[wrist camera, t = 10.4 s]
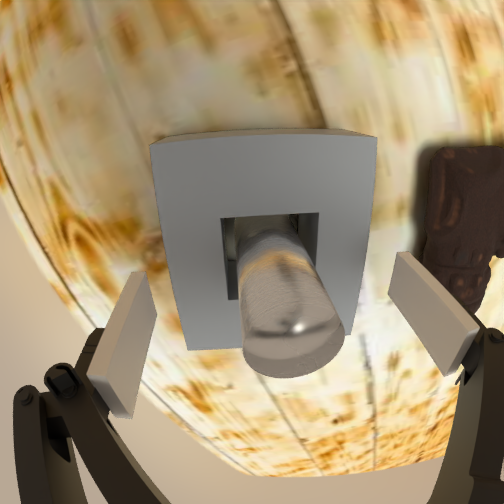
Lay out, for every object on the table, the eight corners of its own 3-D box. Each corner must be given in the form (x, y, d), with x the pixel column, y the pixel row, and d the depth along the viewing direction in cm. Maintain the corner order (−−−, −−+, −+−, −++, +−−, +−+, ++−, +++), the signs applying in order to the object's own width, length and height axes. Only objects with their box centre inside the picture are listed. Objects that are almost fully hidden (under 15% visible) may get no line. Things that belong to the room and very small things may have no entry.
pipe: (432, 348, 19) (546, 310, 16) (451, 154, 13) (574, 158, 10) (399, 285, 28) (502, 264, 25) (396, 138, 22) (511, 138, 19)
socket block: (168, 136, 18) (149, 145, 13) (344, 129, 18) (377, 137, 14) (193, 308, 24) (187, 350, 20) (331, 296, 25) (350, 334, 20)
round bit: (232, 201, 20) (239, 310, 10) (288, 198, 21) (352, 299, 10) (236, 252, 22) (245, 382, 12) (288, 248, 22) (336, 370, 12)
